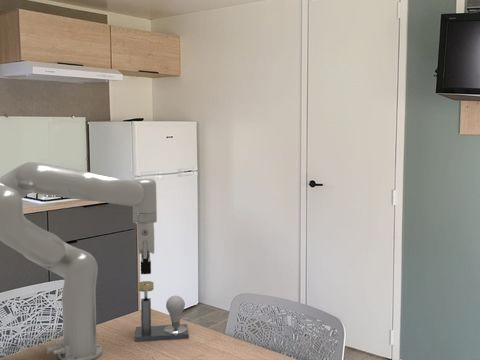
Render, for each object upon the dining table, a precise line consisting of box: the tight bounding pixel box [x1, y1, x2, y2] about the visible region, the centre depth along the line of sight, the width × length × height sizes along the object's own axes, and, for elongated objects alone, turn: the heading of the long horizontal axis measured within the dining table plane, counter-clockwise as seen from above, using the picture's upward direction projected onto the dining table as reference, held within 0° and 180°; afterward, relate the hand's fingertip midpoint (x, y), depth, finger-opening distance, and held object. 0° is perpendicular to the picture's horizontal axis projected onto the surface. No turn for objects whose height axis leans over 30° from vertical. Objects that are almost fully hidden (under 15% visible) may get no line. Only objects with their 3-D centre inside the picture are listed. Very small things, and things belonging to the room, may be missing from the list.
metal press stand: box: [134, 297, 190, 343], centre depth 174 cm, size 17×9×12 cm, turn 99°
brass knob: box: [137, 280, 154, 301], centre depth 172 cm, size 5×5×6 cm
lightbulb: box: [165, 295, 186, 329], centre depth 175 cm, size 6×6×11 cm
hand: (145, 273), depth 172 cm, fingers closed
